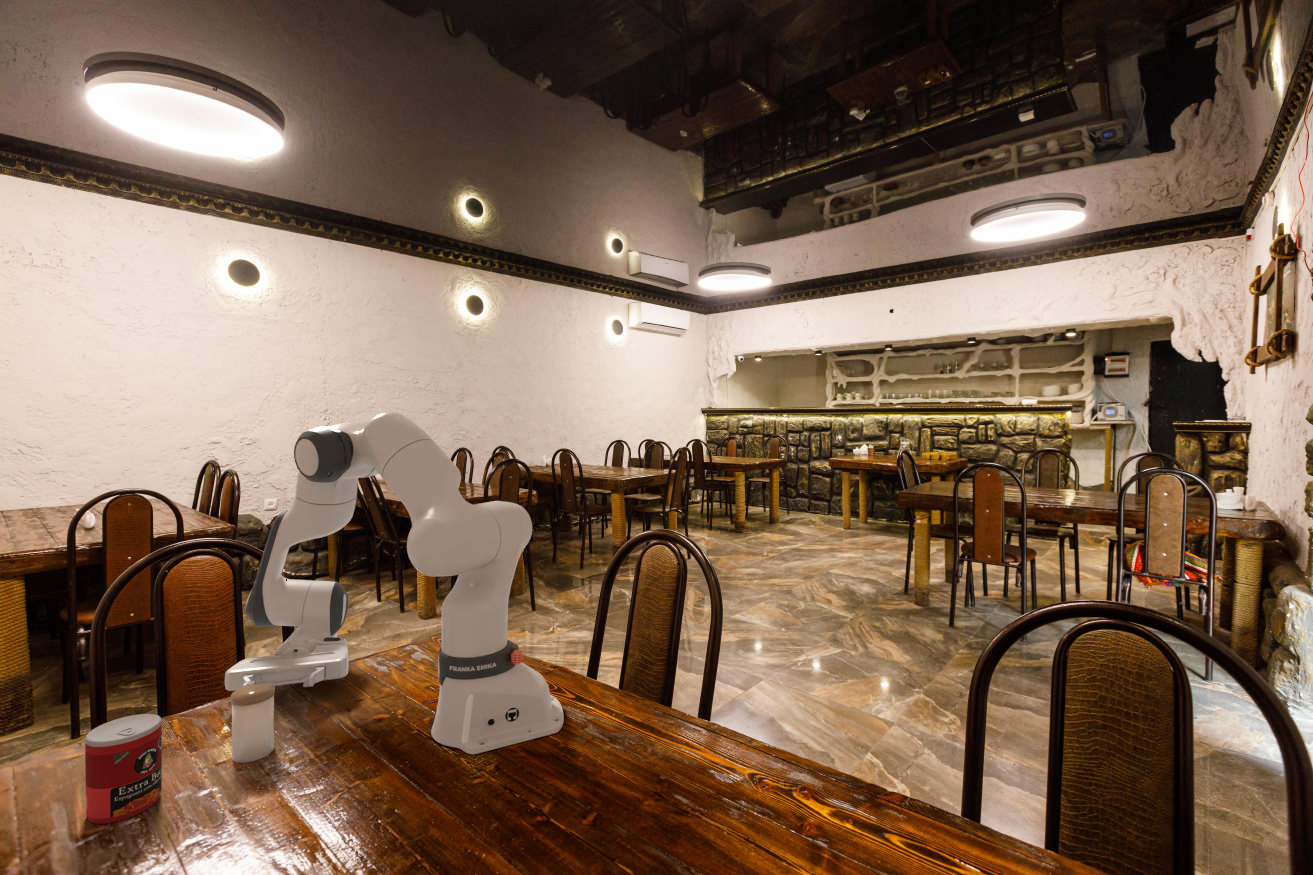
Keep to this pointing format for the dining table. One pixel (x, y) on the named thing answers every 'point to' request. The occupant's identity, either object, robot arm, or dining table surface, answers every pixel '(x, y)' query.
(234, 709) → the spice jar
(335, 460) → the robot arm
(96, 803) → the canned food
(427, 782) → the dining table surface
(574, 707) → the dining table surface
